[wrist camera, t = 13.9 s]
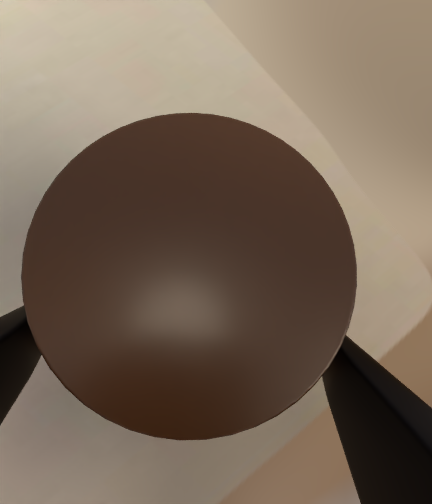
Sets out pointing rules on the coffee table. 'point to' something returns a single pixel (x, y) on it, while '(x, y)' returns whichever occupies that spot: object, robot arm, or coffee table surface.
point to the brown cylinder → (189, 276)
